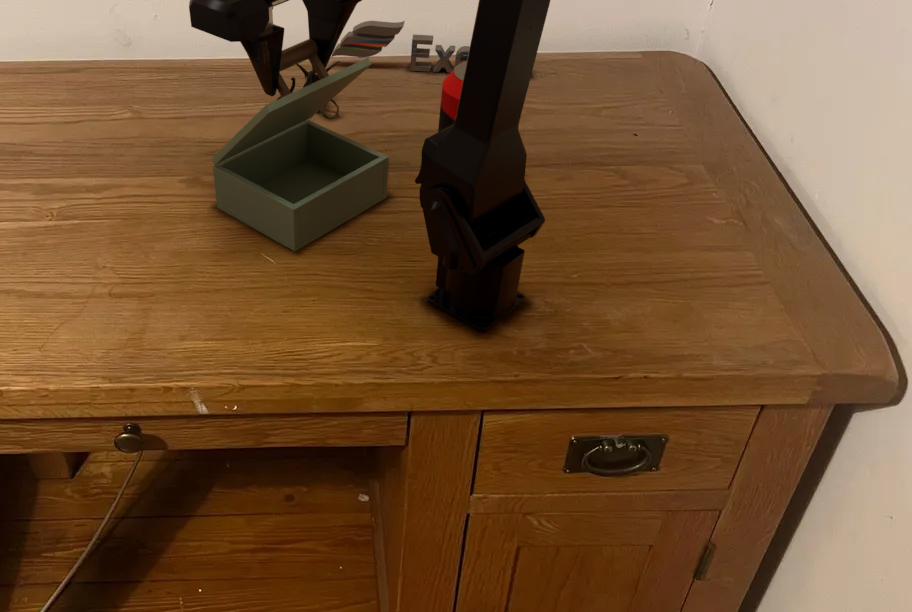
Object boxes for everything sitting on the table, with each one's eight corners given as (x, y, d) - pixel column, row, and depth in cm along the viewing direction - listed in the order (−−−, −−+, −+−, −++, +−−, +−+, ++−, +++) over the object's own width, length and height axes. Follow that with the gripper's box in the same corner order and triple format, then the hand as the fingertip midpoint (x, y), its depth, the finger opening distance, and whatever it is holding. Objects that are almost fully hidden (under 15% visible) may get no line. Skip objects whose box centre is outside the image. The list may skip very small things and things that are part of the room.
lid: (372, 63, 87) (345, 17, 86) (269, 112, 80) (240, 61, 79) (309, 118, 97) (285, 77, 96) (214, 165, 90) (187, 121, 89)
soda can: (435, 201, 94) (446, 89, 86) (431, 163, 99) (440, 55, 91) (509, 201, 94) (527, 90, 85) (501, 164, 99) (517, 55, 91)
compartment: (386, 197, 95) (389, 156, 91) (294, 251, 88) (293, 209, 85) (308, 159, 100) (308, 119, 97) (216, 207, 94) (212, 166, 90)
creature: (333, 134, 106) (348, 90, 111) (331, 96, 102) (346, 51, 106) (268, 127, 108) (285, 84, 112) (264, 89, 103) (281, 45, 108)
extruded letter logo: (331, 66, 117) (331, 21, 113) (332, 61, 118) (333, 16, 114) (529, 77, 114) (536, 32, 110) (529, 72, 115) (536, 27, 111)
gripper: (297, -139, 84) (304, 32, 95) (135, -93, 75) (163, 92, 85) (389, -120, 78) (385, 61, 89) (225, -67, 69) (243, 128, 79)
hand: (294, 83), depth 86 cm, fingers closed on lid, 6 cm apart
